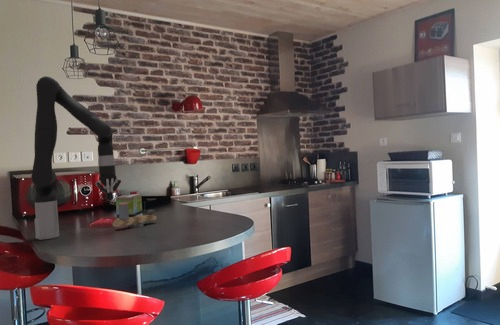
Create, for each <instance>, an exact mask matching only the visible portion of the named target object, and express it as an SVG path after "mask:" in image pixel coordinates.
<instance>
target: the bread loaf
mask: <svg viewBox="0 0 500 325" xmlns="http://www.w3.org/2000/svg"><path fill="white" fill-rule="evenodd" d="M155 220H157V214H156V209H147V211H146V214H142V215H141V216H136V217H130V218H129V219H125V220H121V219H118V220H117V219H115V220H114V221H112V227H115V228H116V227H117V228H118V227H119V228H120V227H124V226H127V227H128V228H132V229H137V228H142V227H144V223H146V222H151V221H155Z"/></svg>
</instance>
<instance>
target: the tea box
mask: <svg viewBox="0 0 500 325" xmlns="http://www.w3.org/2000/svg"><path fill="white" fill-rule="evenodd" d="M142 200H143V198H142V194H139V193H138V194H137V193H136V194H123V195H121V196H116V197H115V206H116V208H115V210H116V220H118V219H119V205H118V203H123V202H126V203H128V213H129V218H130V217H136V216H141V215H143V203H142V202H143V201H142Z"/></svg>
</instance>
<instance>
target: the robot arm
mask: <svg viewBox="0 0 500 325" xmlns="http://www.w3.org/2000/svg"><path fill="white" fill-rule="evenodd" d="M35 88H36V103H37V106H36V107H37V108H36V114H35V125H34V127H35V128H34V148H33V149H34V159H33V165H32V170H31V175H30V176H31V182H32V184H34V186H35V192H34V193H35V195H34V210H35V213H34V214H35V218H34V228H35V229H34V230H35V239H36V240H40V241H42V240H49V239H50V240H51V239H55V238H59V237H60V229H59V212H58V200H57V196H58V185H57V184H58V182H57V175H56V172H55V171H54V170H53V155H54V151H55V148H56V143H57V137H58V123H57V122H58V120H57V116H56V109H55V105H56V103H57V104H58V105H59V106H61V107H62V108H64V109H65V110H66V111H67V112H68V113H69V114H70V115H71V116H72V117H74V118H75V119H76V120H77V121H79V122H80V123H81V124H82V125H84V127H86V128H87V129H89V130H90V131H91V132H92V133H93V134H95V135H96V136H97V139H98V140H97V142H98V144H97V154H98V155H97V156H98V157H97V158H98V161H97V162H98V163H97V166H98V175H99V177H98V180H97V181H96V182H94V185H95V186H96V187H97V188H98V190H100V191H101V192H102V193H104V194H105V200H107V201H108V202H109V201H113V198H114V195H113V193H114V192H116V191H117V190H118V188H119V186H120V184H121V183H122V180H121V179H118V178H117V174H116V163H115V162H116V161H115V155H114V154H115V153H114V147H113V129H112V127H111V126H110V125H108V124H107V123H105V121H103V120H102V119H100V118H99V117H97V115H96V114H94V113H93V112H92V110H90V109H88V108H87V107H86V106H84V105H83V104H82V103H80V102H79V101H77V100H76V99H75V98H73V97H72V96H71V95H69V94H68V93H67V91H65V89H64V88H63V87H62V86H61V85H60V83H59V81H57V80H56V79H54V78H53V77H51V76H47V75H46V76H42V77H40V78H39V79H38V80H37V82H36V87H35Z"/></svg>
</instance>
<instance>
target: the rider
mask: <svg viewBox="0 0 500 325" xmlns="http://www.w3.org/2000/svg"><path fill="white" fill-rule="evenodd" d="M118 205H119V219H121V220H125V219H129V213H128V203H126V202H123V203H118Z"/></svg>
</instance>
